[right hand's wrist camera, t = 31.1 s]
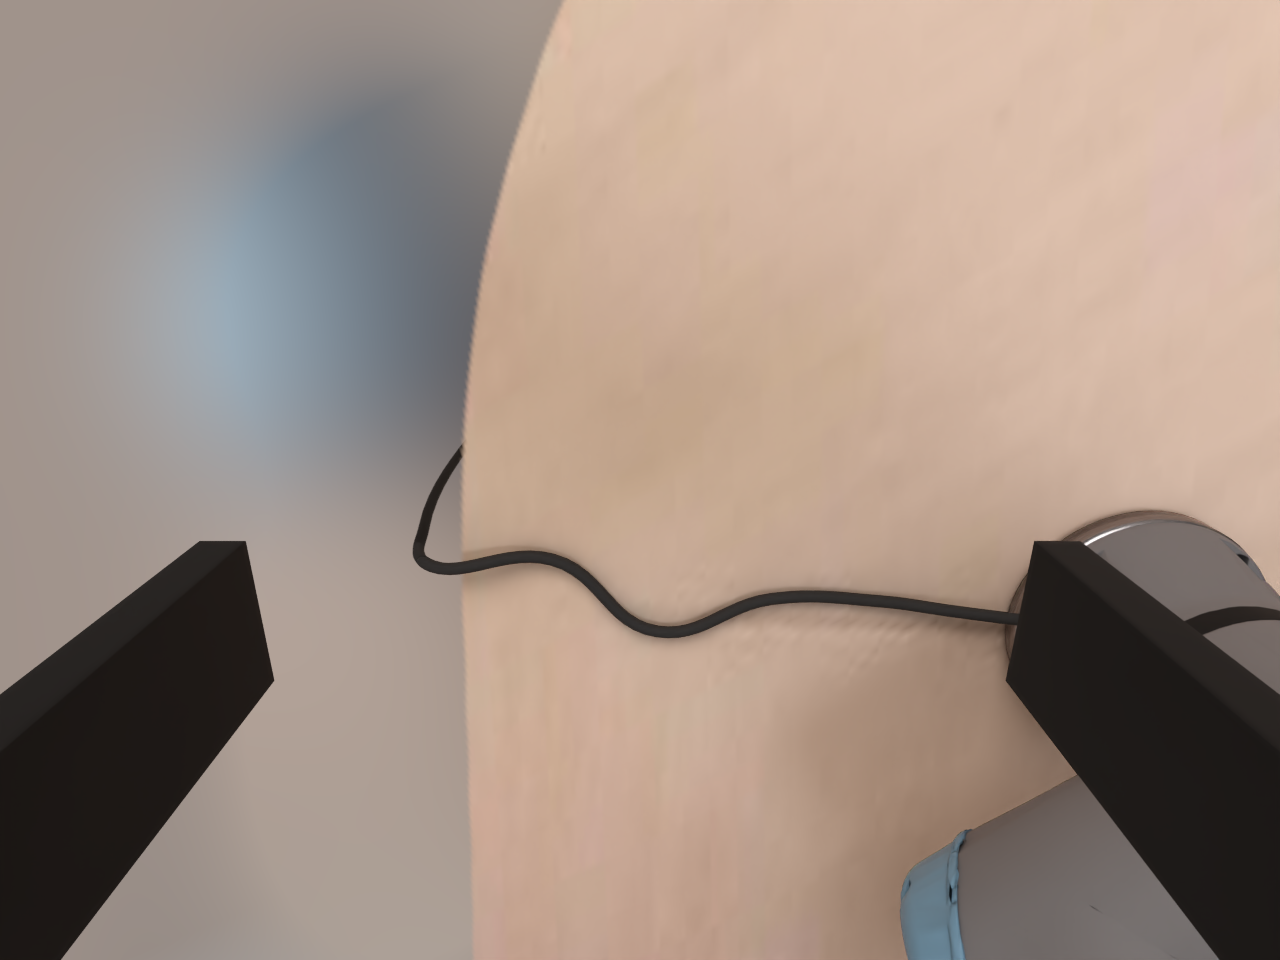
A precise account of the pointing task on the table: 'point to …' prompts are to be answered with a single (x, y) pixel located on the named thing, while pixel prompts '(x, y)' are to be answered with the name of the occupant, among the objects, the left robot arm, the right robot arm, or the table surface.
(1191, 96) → the table surface
